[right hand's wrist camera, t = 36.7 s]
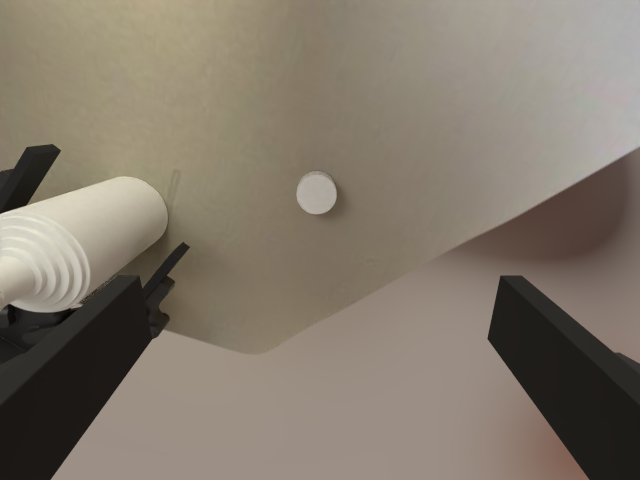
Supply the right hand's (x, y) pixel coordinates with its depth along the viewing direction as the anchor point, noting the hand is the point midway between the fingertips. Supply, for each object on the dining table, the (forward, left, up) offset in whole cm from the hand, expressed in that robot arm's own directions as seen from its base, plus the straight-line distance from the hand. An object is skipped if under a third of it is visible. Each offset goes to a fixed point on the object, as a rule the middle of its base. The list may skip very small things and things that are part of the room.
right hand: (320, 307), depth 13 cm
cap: (0, 0, -21) cm, 21 cm away
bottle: (-9, -17, -23) cm, 30 cm away
